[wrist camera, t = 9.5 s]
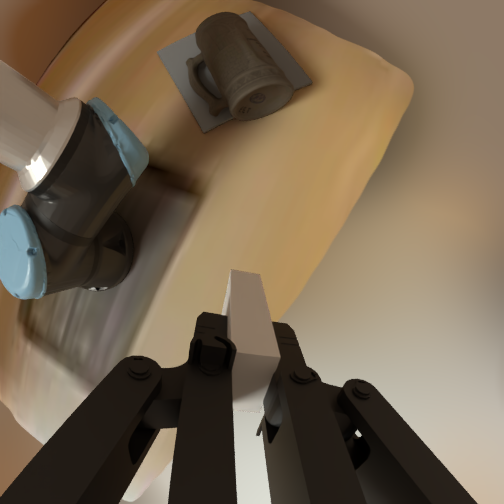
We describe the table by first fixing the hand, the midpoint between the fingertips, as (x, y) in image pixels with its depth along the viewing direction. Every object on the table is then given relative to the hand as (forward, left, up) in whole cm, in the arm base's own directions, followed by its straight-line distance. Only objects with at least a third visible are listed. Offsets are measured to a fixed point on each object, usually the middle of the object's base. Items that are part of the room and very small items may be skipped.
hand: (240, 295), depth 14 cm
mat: (-26, +27, -31) cm, 49 cm away
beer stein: (-14, +18, -26) cm, 34 cm away
